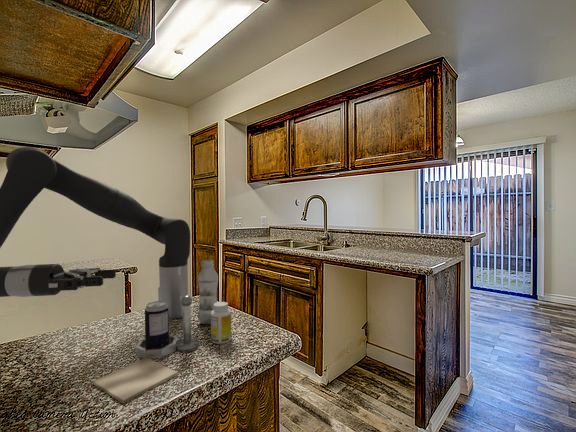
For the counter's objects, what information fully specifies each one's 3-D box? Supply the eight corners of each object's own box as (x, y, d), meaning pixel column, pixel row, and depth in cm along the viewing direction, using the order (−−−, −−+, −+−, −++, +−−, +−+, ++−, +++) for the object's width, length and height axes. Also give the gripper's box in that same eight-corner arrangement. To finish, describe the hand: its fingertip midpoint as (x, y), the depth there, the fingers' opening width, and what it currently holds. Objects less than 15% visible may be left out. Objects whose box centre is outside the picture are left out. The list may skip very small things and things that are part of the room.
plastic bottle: (209, 317, 104) (208, 258, 103) (223, 322, 100) (222, 260, 99) (193, 323, 99) (192, 261, 98) (207, 328, 95) (206, 263, 94)
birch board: (92, 383, 65) (92, 381, 65) (146, 360, 75) (146, 357, 75) (123, 403, 59) (123, 400, 59) (177, 374, 69) (177, 372, 69)
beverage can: (173, 345, 84) (172, 300, 83) (162, 355, 78) (161, 307, 78) (152, 344, 84) (152, 300, 84) (141, 354, 79) (140, 307, 78)
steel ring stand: (129, 351, 80) (128, 299, 79) (173, 334, 91) (172, 288, 90) (160, 366, 73) (158, 308, 72) (203, 345, 83) (203, 294, 83)
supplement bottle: (233, 336, 89) (232, 300, 89) (229, 344, 84) (228, 306, 83) (213, 336, 89) (213, 300, 89) (208, 344, 84) (208, 307, 83)
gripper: (16, 270, 68) (97, 267, 71) (51, 260, 82) (118, 258, 85) (17, 304, 68) (98, 299, 71) (52, 288, 82) (119, 285, 85)
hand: (109, 277), depth 78 cm, fingers open, 8 cm apart
